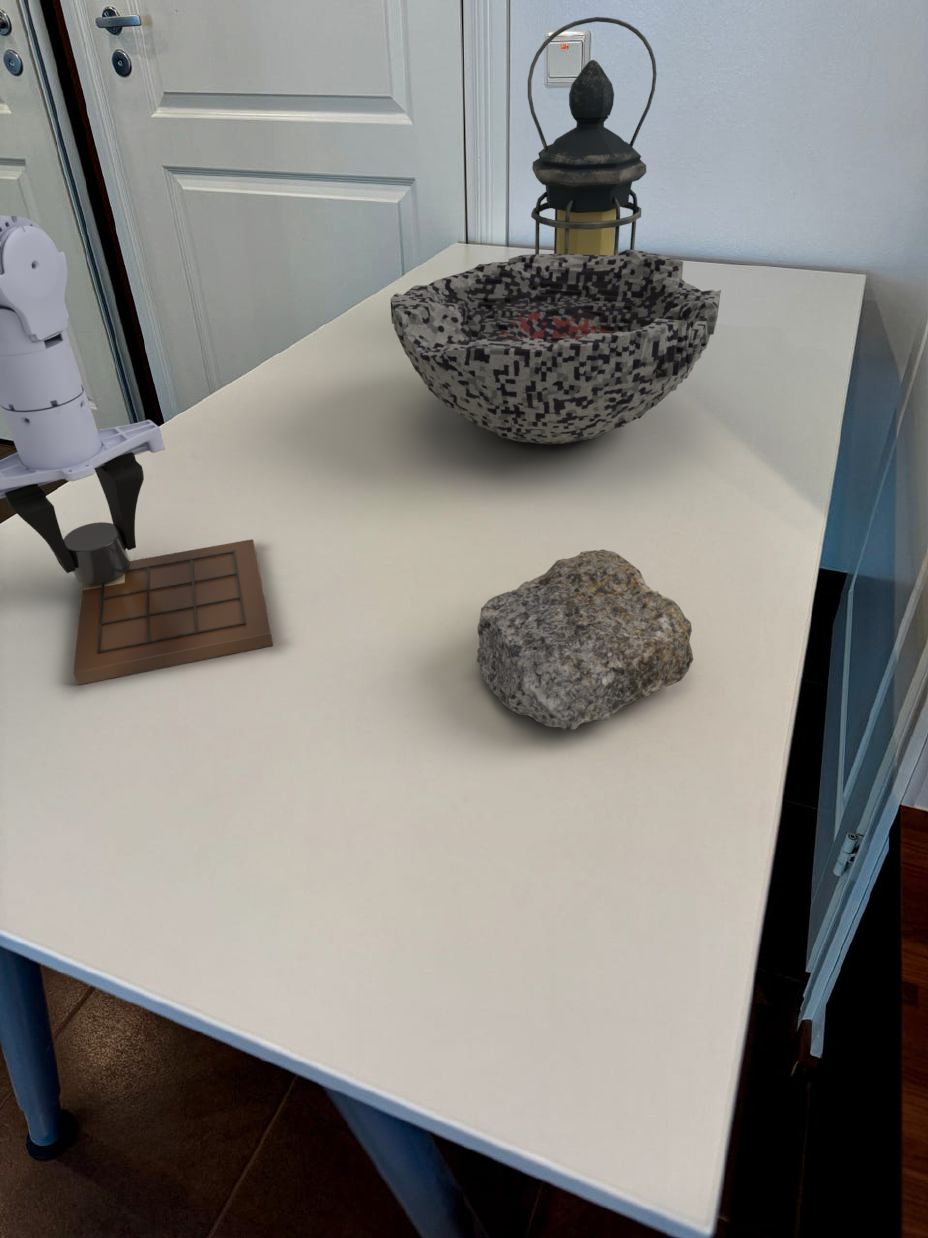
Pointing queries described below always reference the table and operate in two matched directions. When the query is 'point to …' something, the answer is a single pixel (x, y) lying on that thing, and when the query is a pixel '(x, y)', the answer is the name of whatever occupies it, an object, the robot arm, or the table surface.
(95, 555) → the dark grey cylinder
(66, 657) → the table surface
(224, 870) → the table surface
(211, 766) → the table surface
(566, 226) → the lantern
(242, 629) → the board
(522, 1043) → the table surface
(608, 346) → the bowl
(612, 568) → the rock
